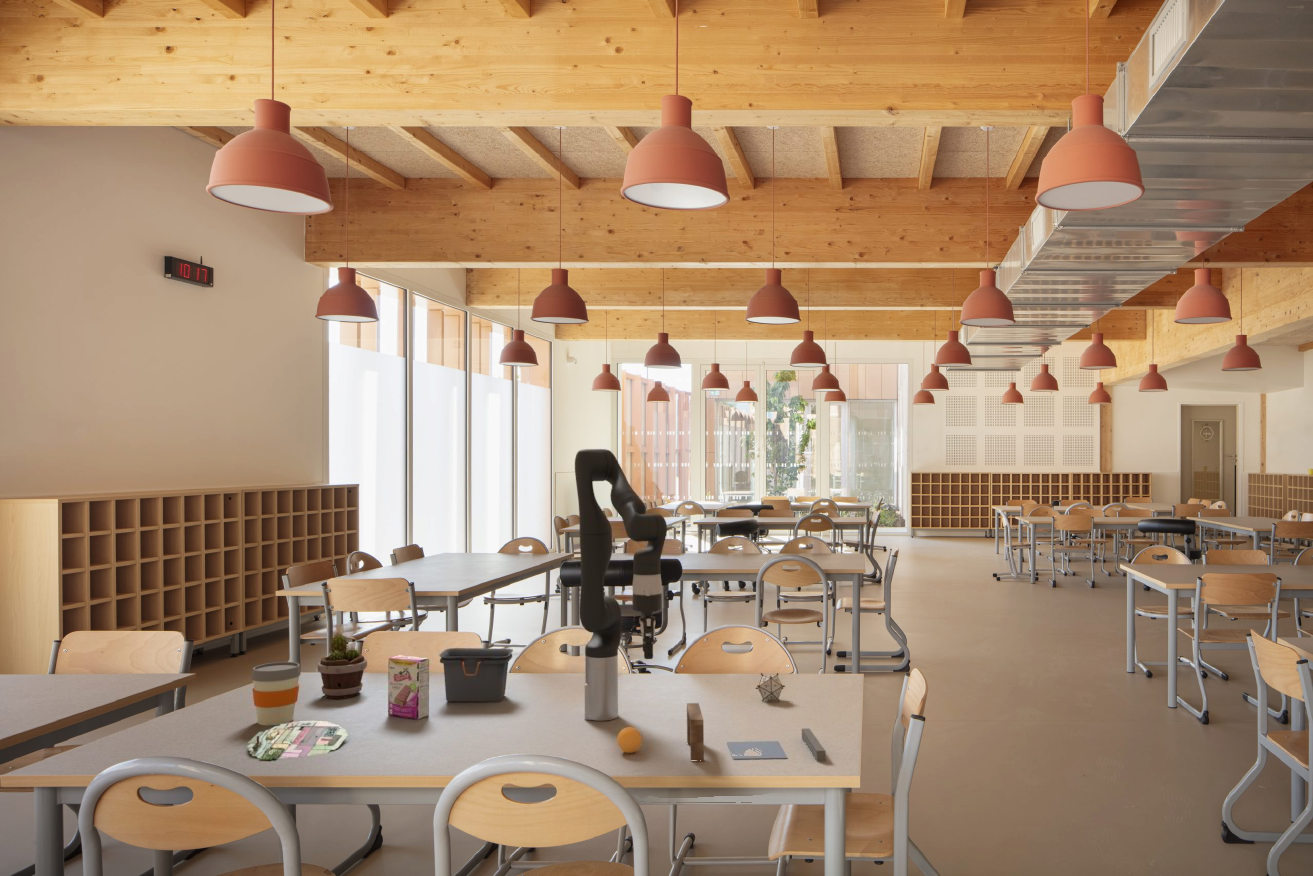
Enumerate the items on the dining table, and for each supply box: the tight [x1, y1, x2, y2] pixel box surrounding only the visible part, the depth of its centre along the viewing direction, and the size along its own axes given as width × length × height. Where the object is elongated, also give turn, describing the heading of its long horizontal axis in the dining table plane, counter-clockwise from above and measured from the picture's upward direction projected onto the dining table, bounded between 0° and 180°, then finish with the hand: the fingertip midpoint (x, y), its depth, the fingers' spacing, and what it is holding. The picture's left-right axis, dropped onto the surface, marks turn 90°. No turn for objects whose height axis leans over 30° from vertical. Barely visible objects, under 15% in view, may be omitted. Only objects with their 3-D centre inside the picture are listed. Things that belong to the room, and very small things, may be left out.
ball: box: [616, 726, 643, 754], centre depth 209 cm, size 6×6×6 cm
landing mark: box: [726, 740, 788, 760], centre depth 210 cm, size 13×13×1 cm
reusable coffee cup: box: [251, 661, 302, 726], centre depth 240 cm, size 12×12×15 cm
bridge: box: [686, 702, 705, 762], centre depth 210 cm, size 3×15×10 cm, turn 2°
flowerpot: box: [316, 631, 368, 700], centre depth 268 cm, size 14×15×20 cm
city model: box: [247, 720, 349, 761], centre depth 216 cm, size 25×23×6 cm
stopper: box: [801, 728, 826, 762], centre depth 210 cm, size 2×18×2 cm, turn 2°
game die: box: [755, 672, 786, 702], centre depth 257 cm, size 9×8×10 cm
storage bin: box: [438, 647, 514, 703], centre depth 261 cm, size 21×16×14 cm
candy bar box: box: [387, 654, 430, 720], centre depth 244 cm, size 11×5×16 cm, turn 65°
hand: (647, 655), depth 220 cm, fingers open, 8 cm apart
